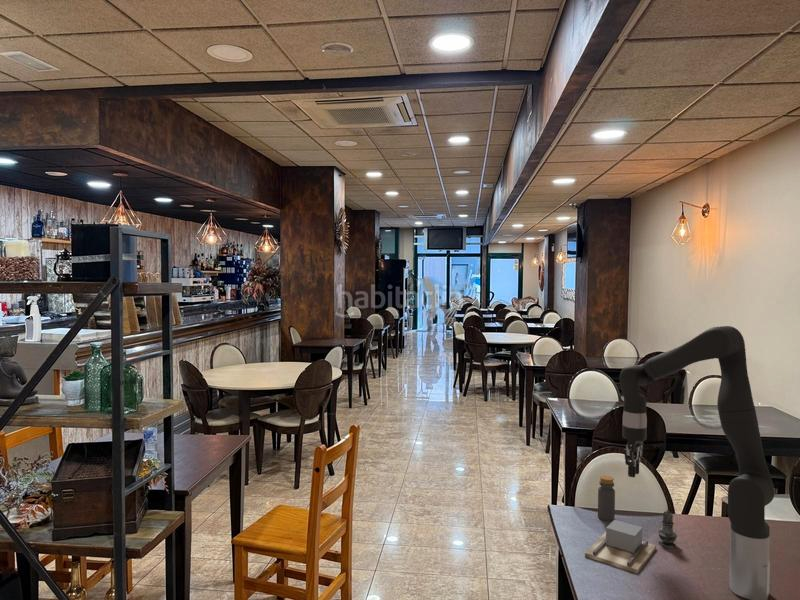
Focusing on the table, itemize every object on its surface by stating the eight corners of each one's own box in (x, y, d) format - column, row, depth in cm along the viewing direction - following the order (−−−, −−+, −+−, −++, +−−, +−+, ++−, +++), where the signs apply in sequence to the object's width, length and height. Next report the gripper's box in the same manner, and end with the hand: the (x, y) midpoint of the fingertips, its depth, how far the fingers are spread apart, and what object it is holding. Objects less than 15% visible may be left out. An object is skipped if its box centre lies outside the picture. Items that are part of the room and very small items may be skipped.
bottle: (600, 512, 208) (601, 473, 207) (616, 517, 204) (617, 477, 203) (595, 517, 203) (596, 477, 203) (611, 522, 199) (612, 481, 199)
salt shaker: (679, 549, 179) (680, 513, 179) (660, 547, 180) (660, 511, 180) (674, 541, 185) (675, 506, 185) (655, 539, 186) (656, 504, 186)
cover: (642, 544, 179) (642, 527, 179) (634, 553, 173) (634, 535, 173) (614, 536, 185) (614, 519, 185) (605, 544, 179) (606, 527, 179)
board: (655, 549, 179) (656, 542, 179) (637, 573, 164) (637, 566, 164) (606, 534, 190) (606, 528, 189) (584, 556, 174) (584, 549, 174)
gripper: (639, 430, 177) (638, 483, 178) (652, 422, 188) (651, 472, 188) (616, 426, 182) (615, 478, 182) (629, 418, 193) (628, 467, 193)
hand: (633, 474), depth 185 cm, fingers open, 3 cm apart
